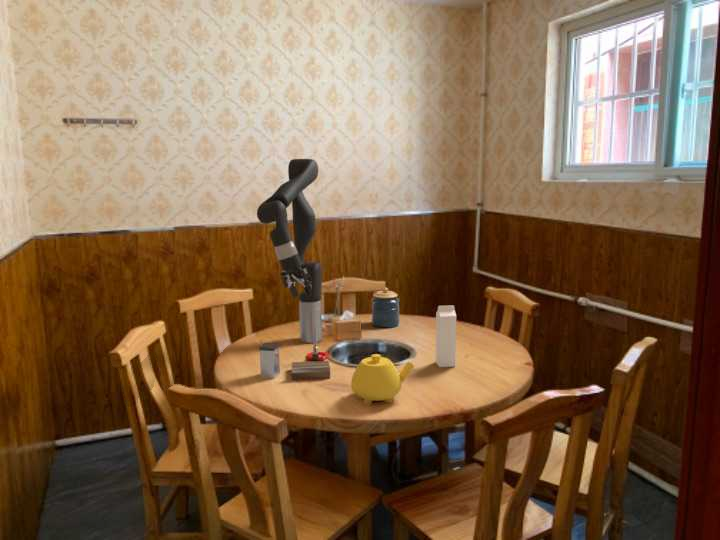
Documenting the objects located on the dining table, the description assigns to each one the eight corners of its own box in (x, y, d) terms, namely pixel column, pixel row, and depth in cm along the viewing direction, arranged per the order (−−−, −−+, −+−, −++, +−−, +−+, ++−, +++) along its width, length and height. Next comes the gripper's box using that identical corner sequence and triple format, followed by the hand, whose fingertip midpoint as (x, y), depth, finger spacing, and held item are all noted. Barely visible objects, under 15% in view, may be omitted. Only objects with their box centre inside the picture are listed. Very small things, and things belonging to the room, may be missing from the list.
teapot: (408, 385, 180) (408, 345, 177) (421, 404, 165) (421, 360, 162) (348, 390, 177) (347, 349, 175) (355, 409, 162) (354, 365, 159)
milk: (435, 362, 203) (435, 304, 199) (451, 361, 203) (452, 303, 200) (439, 367, 197) (439, 307, 193) (455, 366, 197) (456, 307, 194)
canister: (386, 319, 265) (386, 283, 262) (405, 324, 255) (405, 287, 252) (365, 324, 256) (365, 287, 253) (384, 330, 246) (384, 291, 244)
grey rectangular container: (260, 377, 189) (259, 346, 187) (266, 372, 193) (265, 342, 192) (275, 378, 187) (274, 347, 185) (281, 373, 192) (279, 343, 190)
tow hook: (310, 354, 215) (304, 360, 206) (309, 321, 214) (303, 327, 204) (331, 355, 214) (325, 361, 205) (330, 322, 212) (325, 327, 203)
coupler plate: (292, 369, 197) (292, 358, 196) (328, 367, 198) (328, 356, 197) (292, 380, 186) (291, 368, 185) (330, 378, 187) (330, 367, 186)
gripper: (307, 249, 195) (322, 291, 198) (284, 253, 205) (298, 293, 209) (291, 257, 190) (307, 299, 193) (268, 260, 201) (284, 301, 204)
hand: (302, 296), depth 201 cm, fingers open, 8 cm apart
